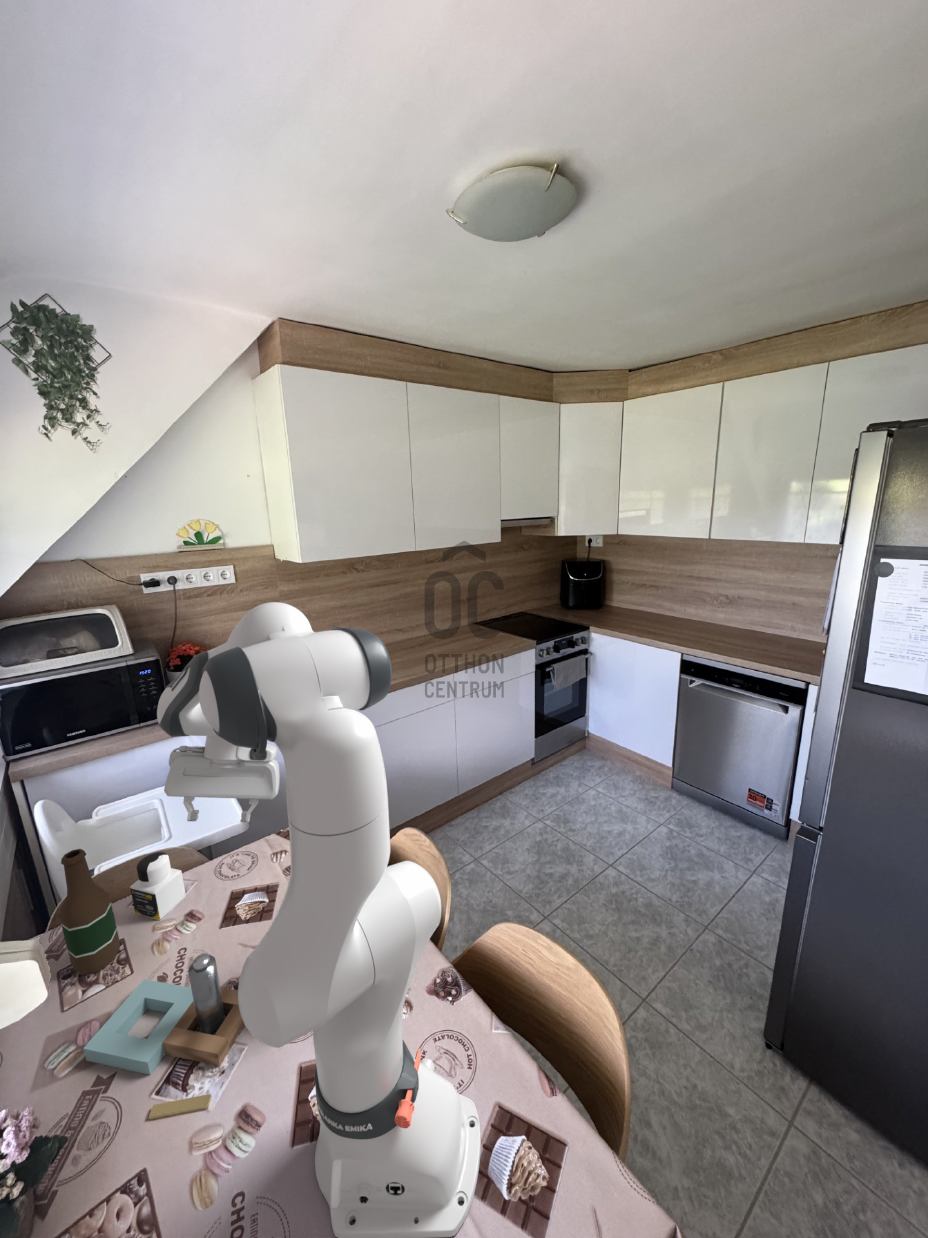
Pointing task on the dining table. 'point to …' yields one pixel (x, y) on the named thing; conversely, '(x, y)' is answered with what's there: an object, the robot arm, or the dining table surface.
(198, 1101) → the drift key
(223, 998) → the socket block
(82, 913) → the beer bottle
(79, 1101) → the dining table surface
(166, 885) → the medicine bottle
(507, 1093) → the dining table surface
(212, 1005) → the silver metal cylinder
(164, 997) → the block
